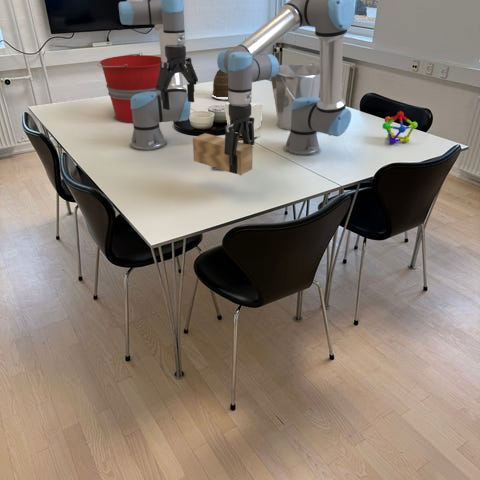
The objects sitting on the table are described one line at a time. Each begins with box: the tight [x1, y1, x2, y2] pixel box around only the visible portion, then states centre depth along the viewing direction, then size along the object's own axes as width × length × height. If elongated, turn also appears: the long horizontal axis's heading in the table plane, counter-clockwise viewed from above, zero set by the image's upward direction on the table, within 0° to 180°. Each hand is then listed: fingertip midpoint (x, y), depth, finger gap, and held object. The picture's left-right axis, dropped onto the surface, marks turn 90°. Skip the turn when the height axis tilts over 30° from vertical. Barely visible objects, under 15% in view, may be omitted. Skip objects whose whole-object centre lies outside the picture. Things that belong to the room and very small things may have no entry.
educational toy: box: [382, 110, 418, 145], centre depth 207 cm, size 16×13×15 cm
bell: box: [212, 68, 229, 97], centre depth 278 cm, size 19×26×20 cm
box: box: [192, 132, 254, 176], centre depth 158 cm, size 22×7×9 cm, turn 53°
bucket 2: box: [270, 63, 320, 131], centre depth 226 cm, size 30×30×28 cm
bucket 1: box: [96, 52, 161, 124], centre depth 238 cm, size 35×35×30 cm
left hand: (179, 105), depth 169 cm, fingers open, 13 cm apart
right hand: (239, 169), depth 157 cm, fingers closed on box, 7 cm apart
